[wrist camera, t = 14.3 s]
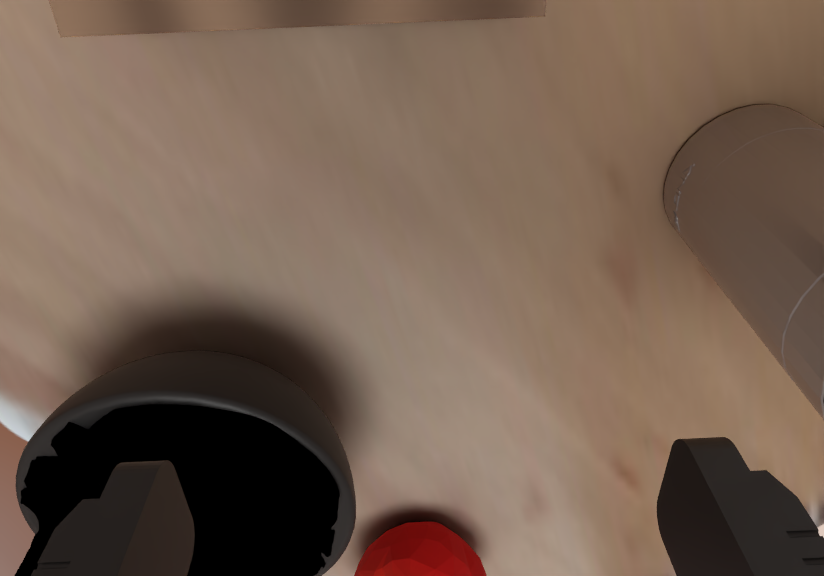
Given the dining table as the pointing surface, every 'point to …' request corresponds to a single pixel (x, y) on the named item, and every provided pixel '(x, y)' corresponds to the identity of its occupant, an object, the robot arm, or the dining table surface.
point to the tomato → (420, 553)
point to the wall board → (268, 14)
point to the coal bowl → (202, 461)
